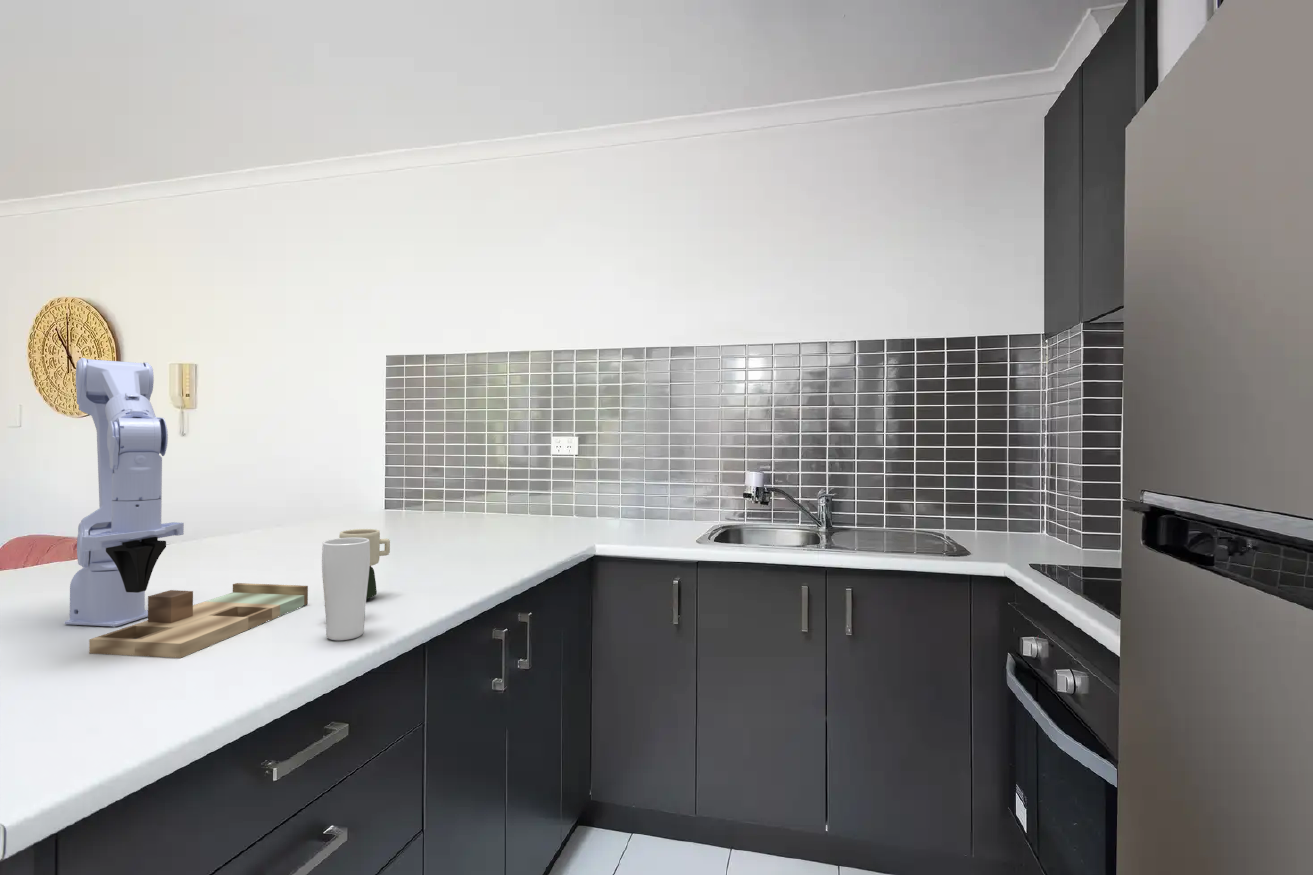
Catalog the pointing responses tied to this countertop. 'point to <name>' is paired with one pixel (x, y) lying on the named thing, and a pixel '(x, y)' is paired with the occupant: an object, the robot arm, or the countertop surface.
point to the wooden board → (204, 622)
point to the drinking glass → (345, 586)
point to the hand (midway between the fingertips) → (136, 591)
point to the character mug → (374, 552)
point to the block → (170, 606)
